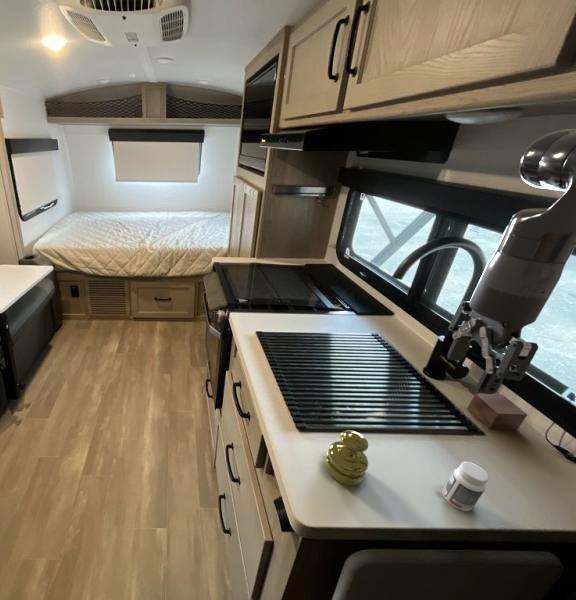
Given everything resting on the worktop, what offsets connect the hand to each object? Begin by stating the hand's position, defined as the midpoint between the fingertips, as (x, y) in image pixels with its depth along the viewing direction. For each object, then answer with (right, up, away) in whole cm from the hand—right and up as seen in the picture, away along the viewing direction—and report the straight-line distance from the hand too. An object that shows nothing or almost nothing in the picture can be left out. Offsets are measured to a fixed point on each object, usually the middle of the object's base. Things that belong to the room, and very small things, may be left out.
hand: (467, 374), depth 55 cm
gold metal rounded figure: (-13, -24, +15) cm, 31 cm away
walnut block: (+32, -18, +30) cm, 47 cm away
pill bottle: (+7, -27, +10) cm, 30 cm away
